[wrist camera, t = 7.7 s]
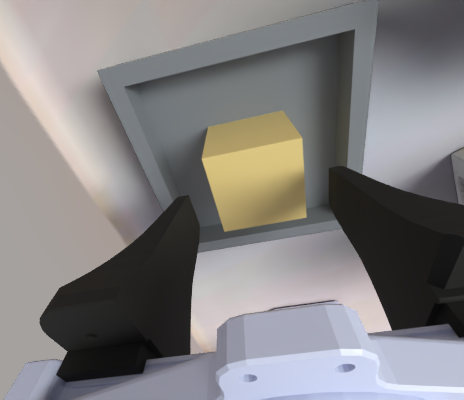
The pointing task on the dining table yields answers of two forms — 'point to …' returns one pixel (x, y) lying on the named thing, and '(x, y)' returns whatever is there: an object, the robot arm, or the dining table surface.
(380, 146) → the dining table surface
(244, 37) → the tray
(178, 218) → the robot arm
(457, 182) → the coffee box
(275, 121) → the mustard block
